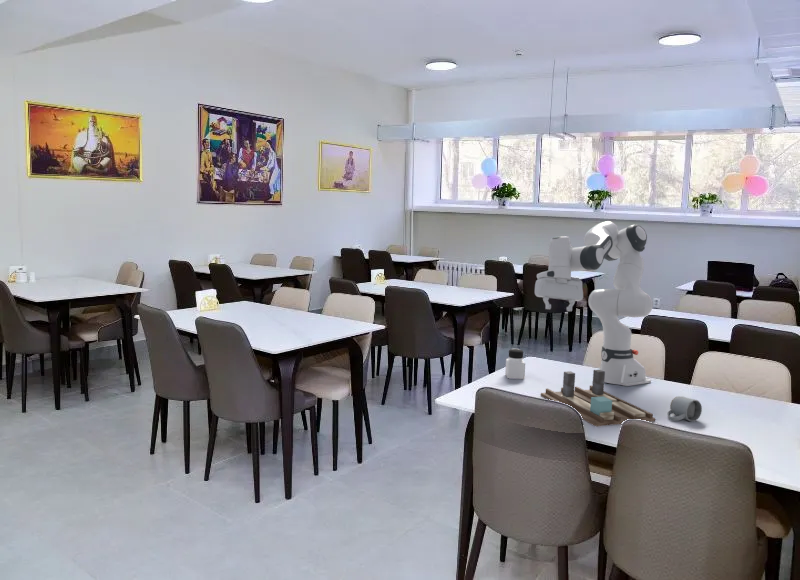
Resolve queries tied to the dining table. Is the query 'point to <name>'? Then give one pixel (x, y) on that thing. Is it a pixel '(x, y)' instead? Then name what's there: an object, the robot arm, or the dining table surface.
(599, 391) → the left strip stub
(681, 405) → the ceramic mug
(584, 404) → the right strip
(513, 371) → the medicine bottle
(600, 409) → the teal cube
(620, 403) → the left strip far piece
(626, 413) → the lane board
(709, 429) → the dining table surface
